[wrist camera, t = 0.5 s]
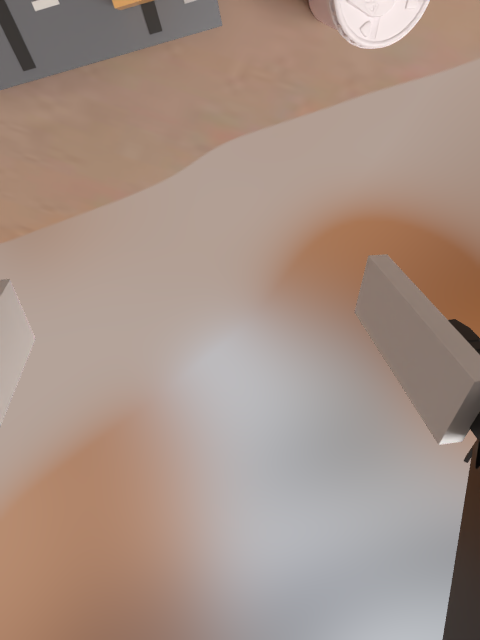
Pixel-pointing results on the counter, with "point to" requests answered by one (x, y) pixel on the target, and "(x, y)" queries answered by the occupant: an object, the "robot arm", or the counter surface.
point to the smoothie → (369, 19)
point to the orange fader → (128, 3)
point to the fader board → (89, 32)
